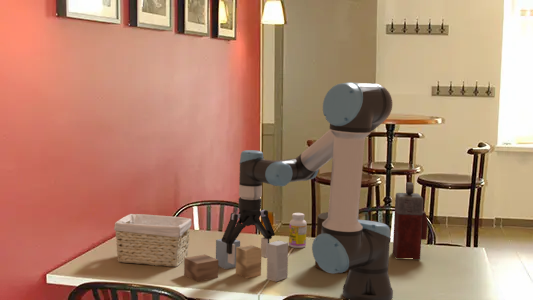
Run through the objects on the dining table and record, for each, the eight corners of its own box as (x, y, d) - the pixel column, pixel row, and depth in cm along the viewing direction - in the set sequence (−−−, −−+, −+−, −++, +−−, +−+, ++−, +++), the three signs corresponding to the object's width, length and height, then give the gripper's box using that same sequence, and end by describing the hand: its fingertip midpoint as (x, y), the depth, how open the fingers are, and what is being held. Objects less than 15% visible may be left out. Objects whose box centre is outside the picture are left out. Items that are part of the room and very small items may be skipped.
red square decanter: (426, 260, 248) (430, 185, 245) (395, 259, 248) (399, 184, 245) (422, 253, 257) (426, 181, 253) (392, 252, 257) (396, 180, 254)
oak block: (260, 275, 224) (261, 248, 223) (246, 278, 220) (247, 251, 219) (250, 270, 229) (250, 244, 228) (235, 273, 225) (236, 247, 224)
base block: (218, 277, 220) (218, 259, 220) (197, 282, 215) (197, 263, 215) (204, 271, 227) (204, 254, 226) (184, 275, 222) (184, 257, 221)
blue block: (239, 266, 234) (240, 241, 232) (225, 269, 230) (225, 243, 229) (229, 262, 238) (230, 237, 237) (215, 265, 234) (216, 239, 233)
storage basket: (192, 256, 244) (193, 216, 243) (179, 269, 228) (180, 226, 227) (129, 252, 248) (129, 212, 246) (112, 264, 232) (112, 222, 231)
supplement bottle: (285, 244, 265) (286, 212, 263) (300, 243, 267) (301, 211, 266) (293, 249, 258) (294, 216, 257) (308, 247, 261) (310, 215, 260)
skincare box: (277, 275, 224) (278, 240, 223) (287, 278, 222) (288, 242, 220) (266, 279, 220) (266, 243, 218) (276, 282, 217) (277, 245, 216)
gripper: (272, 192, 232) (270, 252, 235) (212, 198, 217) (210, 262, 220) (286, 196, 227) (283, 257, 229) (225, 203, 211) (223, 268, 214)
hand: (247, 260), depth 224 cm, fingers open, 13 cm apart
